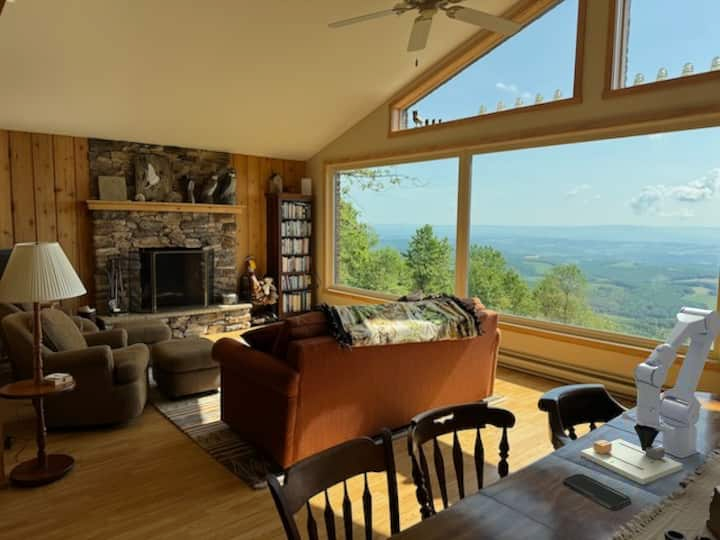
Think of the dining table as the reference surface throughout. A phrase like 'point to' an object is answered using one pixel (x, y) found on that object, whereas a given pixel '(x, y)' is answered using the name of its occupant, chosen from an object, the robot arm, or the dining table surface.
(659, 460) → the board
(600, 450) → the fader orange
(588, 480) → the phone
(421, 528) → the dining table surface
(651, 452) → the block
